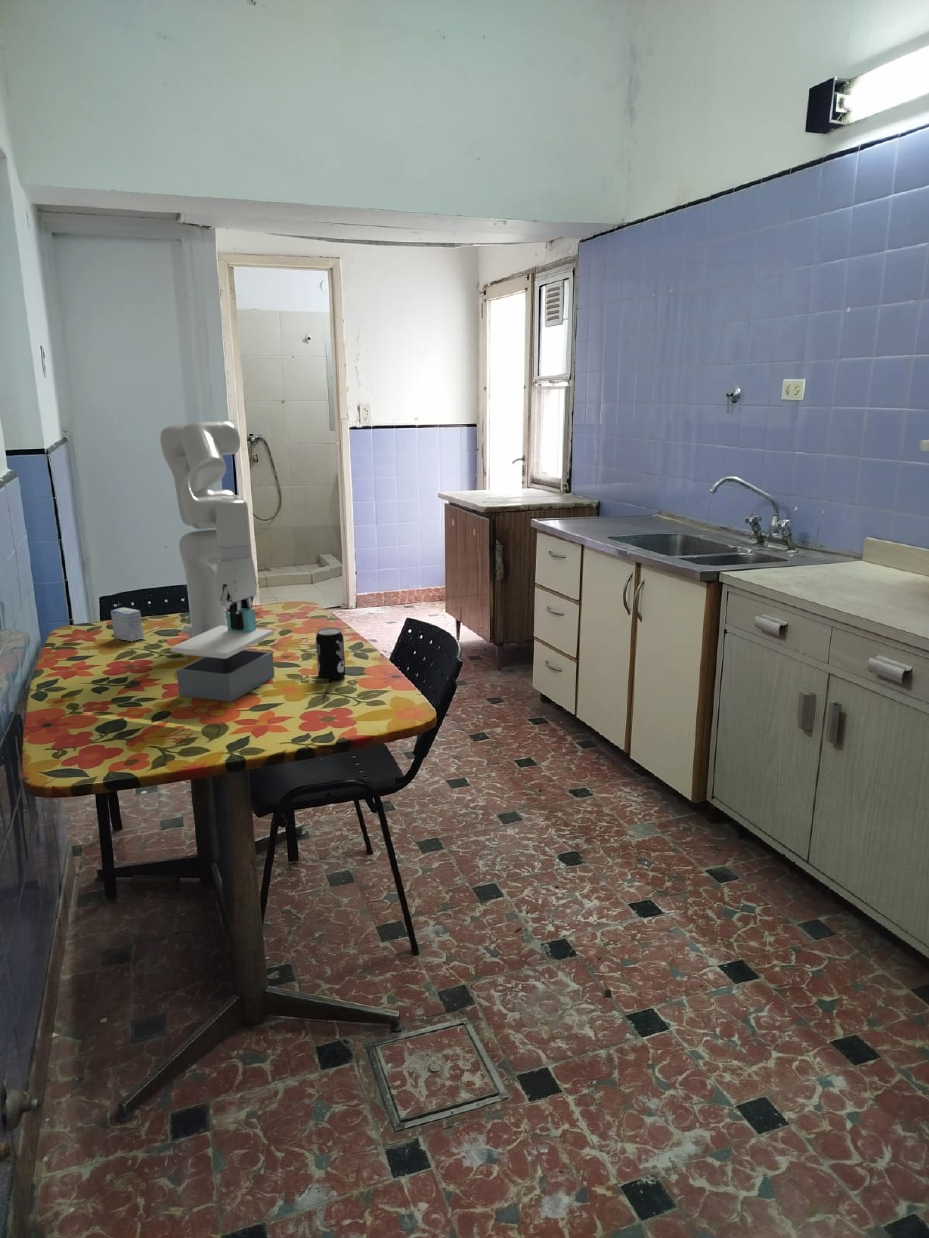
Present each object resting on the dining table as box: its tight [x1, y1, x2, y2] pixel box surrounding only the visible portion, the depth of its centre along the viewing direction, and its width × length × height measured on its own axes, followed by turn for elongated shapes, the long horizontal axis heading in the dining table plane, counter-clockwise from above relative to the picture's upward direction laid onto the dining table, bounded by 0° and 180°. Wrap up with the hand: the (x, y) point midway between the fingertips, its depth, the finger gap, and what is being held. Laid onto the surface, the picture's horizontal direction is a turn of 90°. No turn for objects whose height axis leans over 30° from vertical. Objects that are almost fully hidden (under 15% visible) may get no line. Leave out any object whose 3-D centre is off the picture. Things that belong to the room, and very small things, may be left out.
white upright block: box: [110, 607, 145, 642], centre depth 235 cm, size 8×4×9 cm, turn 58°
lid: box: [169, 608, 275, 659], centre depth 190 cm, size 15×19×7 cm
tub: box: [175, 649, 276, 703], centre depth 193 cm, size 14×18×7 cm
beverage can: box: [315, 627, 346, 682], centre depth 198 cm, size 7×7×12 cm
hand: (241, 626), depth 197 cm, fingers closed on lid, 3 cm apart
